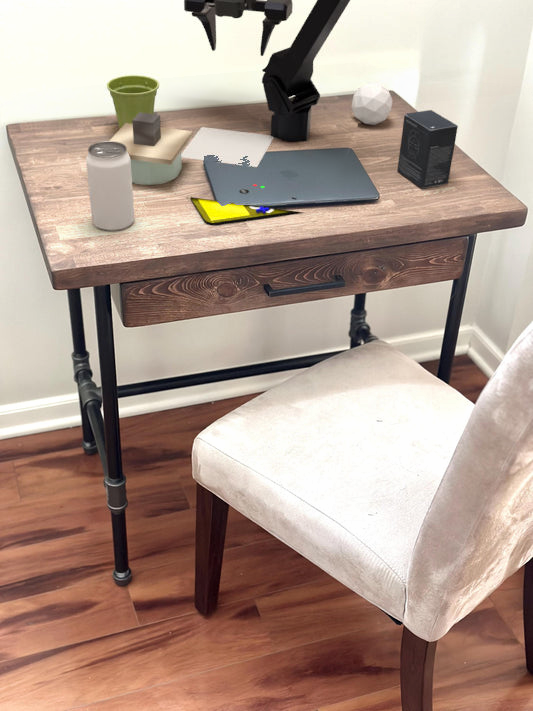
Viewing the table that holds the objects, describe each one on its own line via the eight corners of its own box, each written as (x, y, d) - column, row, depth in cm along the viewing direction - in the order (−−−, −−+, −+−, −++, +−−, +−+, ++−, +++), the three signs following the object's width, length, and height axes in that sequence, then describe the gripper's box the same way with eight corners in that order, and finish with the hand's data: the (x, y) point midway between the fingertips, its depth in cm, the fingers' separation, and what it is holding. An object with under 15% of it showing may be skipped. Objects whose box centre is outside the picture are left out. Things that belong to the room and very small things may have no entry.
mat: (274, 140, 161) (274, 135, 160) (256, 171, 150) (256, 167, 149) (201, 131, 163) (201, 126, 163) (179, 161, 152) (179, 156, 152)
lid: (192, 135, 148) (192, 108, 145) (171, 164, 138) (170, 136, 135) (125, 127, 149) (124, 100, 147) (100, 155, 140) (97, 127, 137)
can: (93, 212, 136) (86, 139, 129) (135, 211, 137) (130, 139, 130) (90, 232, 131) (83, 158, 124) (133, 231, 132) (128, 158, 124)
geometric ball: (359, 137, 170) (337, 105, 166) (376, 111, 174) (355, 79, 170) (389, 129, 164) (367, 95, 160) (406, 102, 168) (385, 68, 164)
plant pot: (152, 142, 158) (150, 95, 153) (103, 136, 160) (99, 90, 155) (167, 123, 166) (165, 78, 161) (120, 117, 167) (116, 73, 162)
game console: (208, 231, 134) (208, 222, 133) (187, 199, 142) (186, 191, 141) (314, 214, 139) (315, 206, 138) (288, 185, 148) (288, 177, 147)
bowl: (186, 167, 150) (186, 137, 147) (168, 192, 142) (167, 161, 139) (132, 160, 152) (130, 130, 149) (111, 184, 144) (108, 153, 141)
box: (448, 184, 148) (459, 125, 142) (421, 190, 146) (430, 130, 140) (422, 166, 154) (431, 108, 148) (395, 171, 152) (403, 112, 146)
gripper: (173, -32, 146) (176, 61, 155) (281, -22, 143) (277, 72, 152) (192, -47, 155) (194, 42, 164) (295, -38, 152) (290, 53, 161)
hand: (237, 52), depth 160 cm, fingers open, 9 cm apart
